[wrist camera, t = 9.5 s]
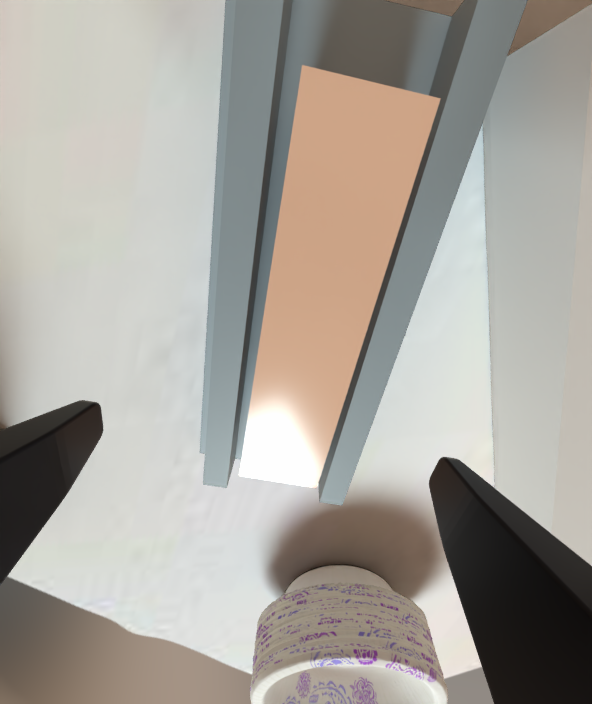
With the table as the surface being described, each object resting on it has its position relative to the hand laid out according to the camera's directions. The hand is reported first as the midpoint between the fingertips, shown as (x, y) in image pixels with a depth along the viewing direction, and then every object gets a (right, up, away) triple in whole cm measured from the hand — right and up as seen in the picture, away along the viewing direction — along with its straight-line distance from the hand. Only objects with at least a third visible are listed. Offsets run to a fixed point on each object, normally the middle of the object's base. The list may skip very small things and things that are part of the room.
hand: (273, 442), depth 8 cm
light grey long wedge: (+18, +1, +12) cm, 22 cm away
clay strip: (+1, +5, +8) cm, 10 cm away
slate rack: (+1, +5, +9) cm, 11 cm away
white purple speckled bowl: (+5, -21, +22) cm, 31 cm away
